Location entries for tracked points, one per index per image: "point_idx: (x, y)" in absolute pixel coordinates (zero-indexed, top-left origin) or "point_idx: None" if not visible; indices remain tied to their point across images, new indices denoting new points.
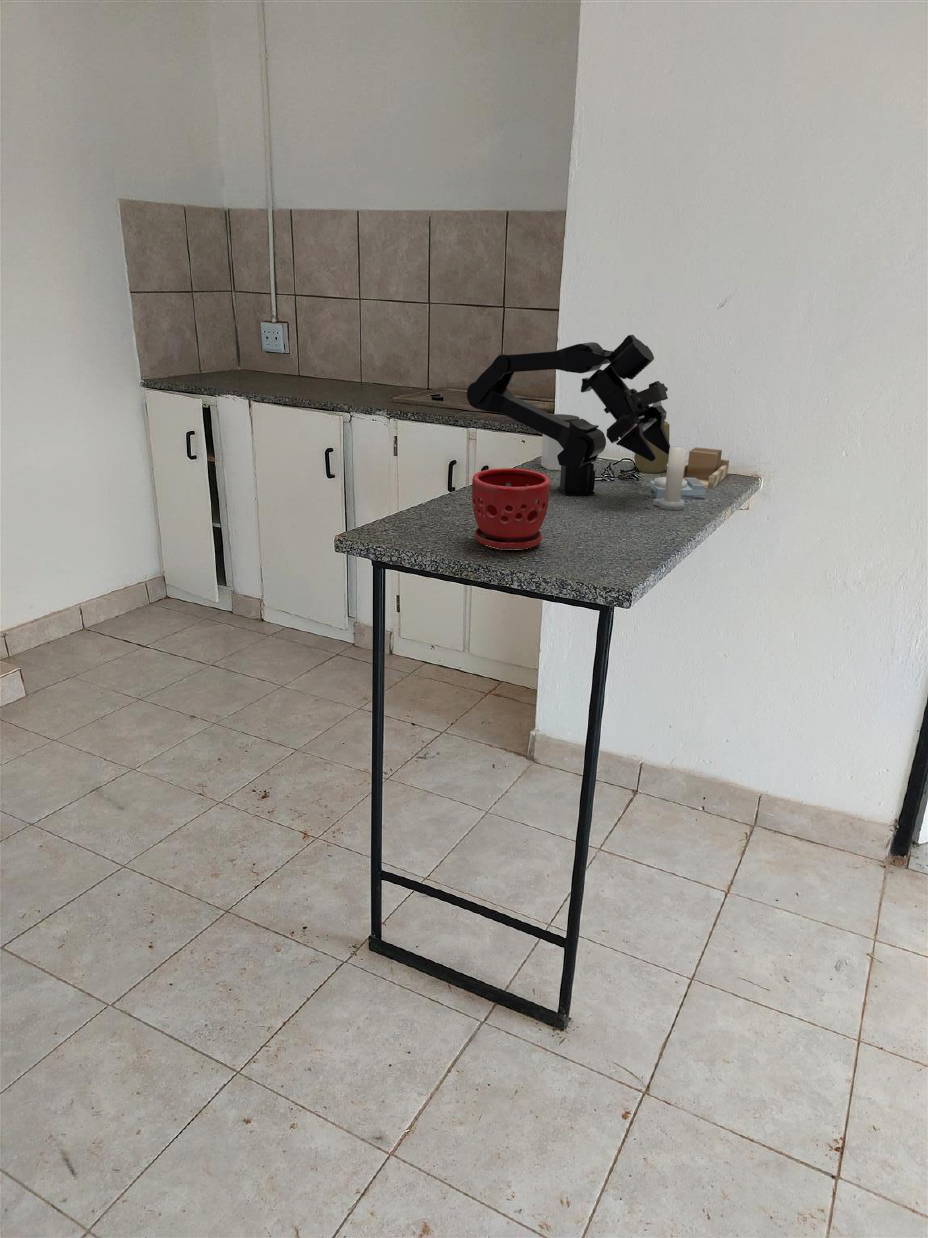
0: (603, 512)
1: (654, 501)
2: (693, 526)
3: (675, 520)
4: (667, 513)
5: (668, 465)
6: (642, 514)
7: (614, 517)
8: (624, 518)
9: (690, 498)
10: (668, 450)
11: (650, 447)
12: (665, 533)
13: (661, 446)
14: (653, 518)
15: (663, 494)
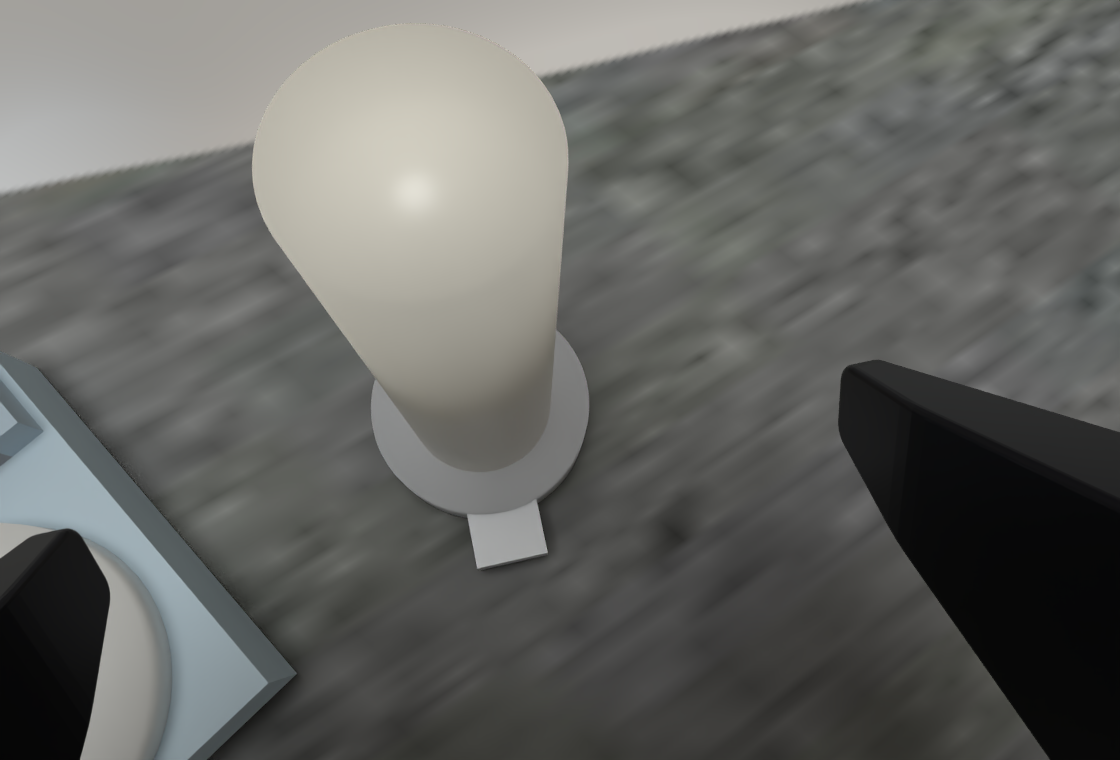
0: None
1: (544, 541)
2: (821, 57)
3: (792, 201)
4: (672, 337)
5: (537, 347)
6: None
7: None
8: None
9: (103, 451)
10: (73, 585)
11: (991, 433)
12: (1106, 90)
13: (37, 758)
14: (879, 330)
15: (247, 632)
